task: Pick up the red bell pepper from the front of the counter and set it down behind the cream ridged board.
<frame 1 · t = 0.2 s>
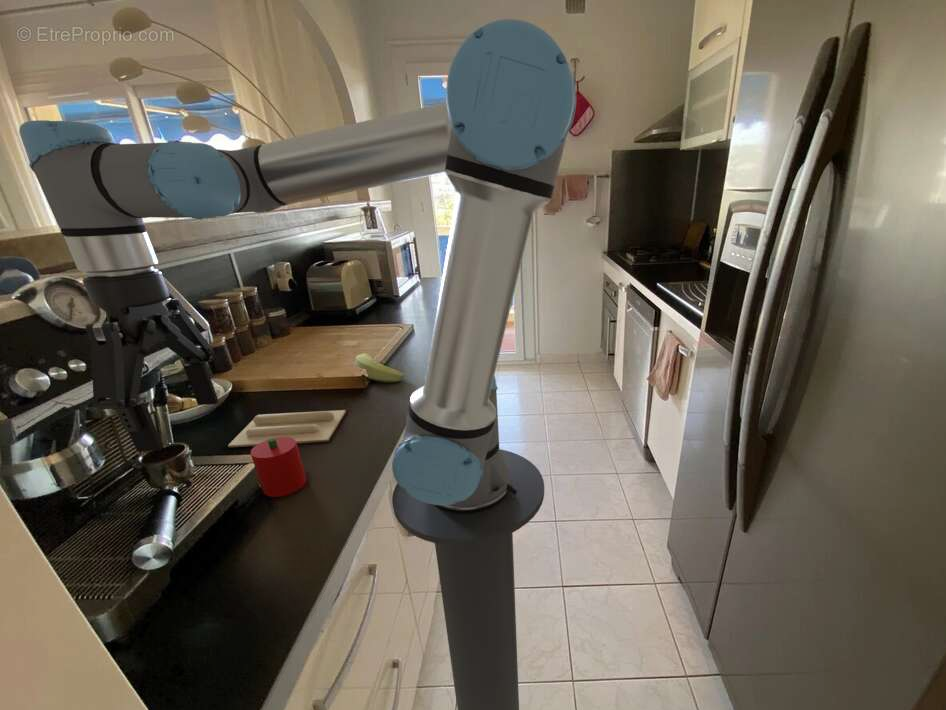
hand: (182, 424, 63), 18 cm above the counter, tool pointing down, fingers open, 13 cm apart
banana: (380, 373, 129), on the counter
cream ridged board: (291, 428, 99), on the counter
pepper: (285, 484, 80), on the counter
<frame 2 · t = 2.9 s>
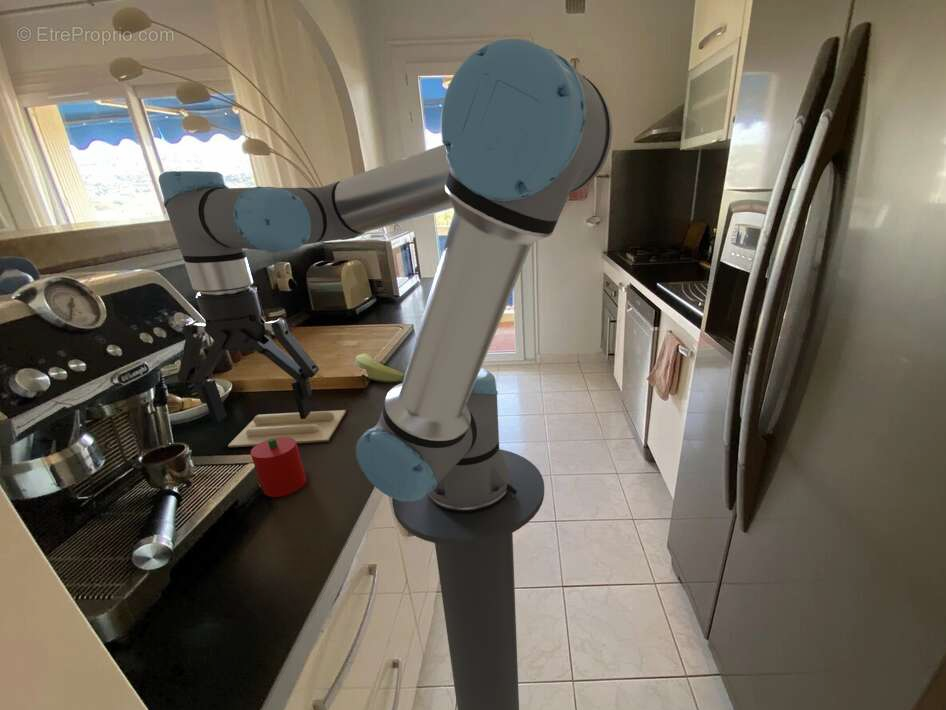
hand: (263, 417, 74), 14 cm above the counter, tool pointing down, fingers open, 13 cm apart
nothing on the counter moved.
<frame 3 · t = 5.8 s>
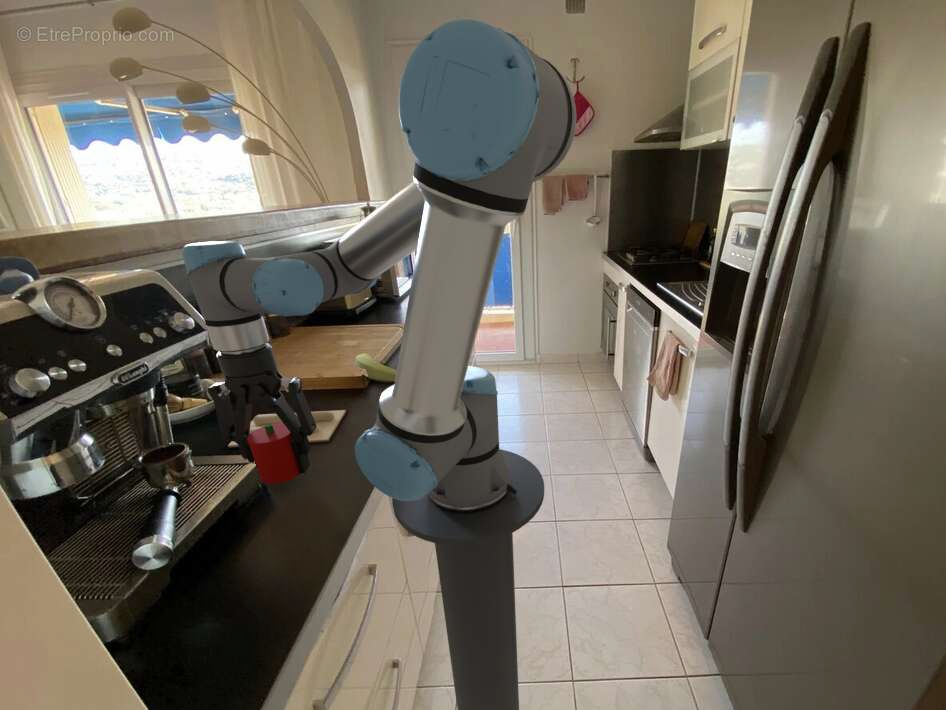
hand: (282, 470, 79), 3 cm above the counter, tool pointing down, fingers closed on pepper, 7 cm apart
pepper: (283, 472, 79), point 3 cm above the counter, touching gripper
everything else where it was.
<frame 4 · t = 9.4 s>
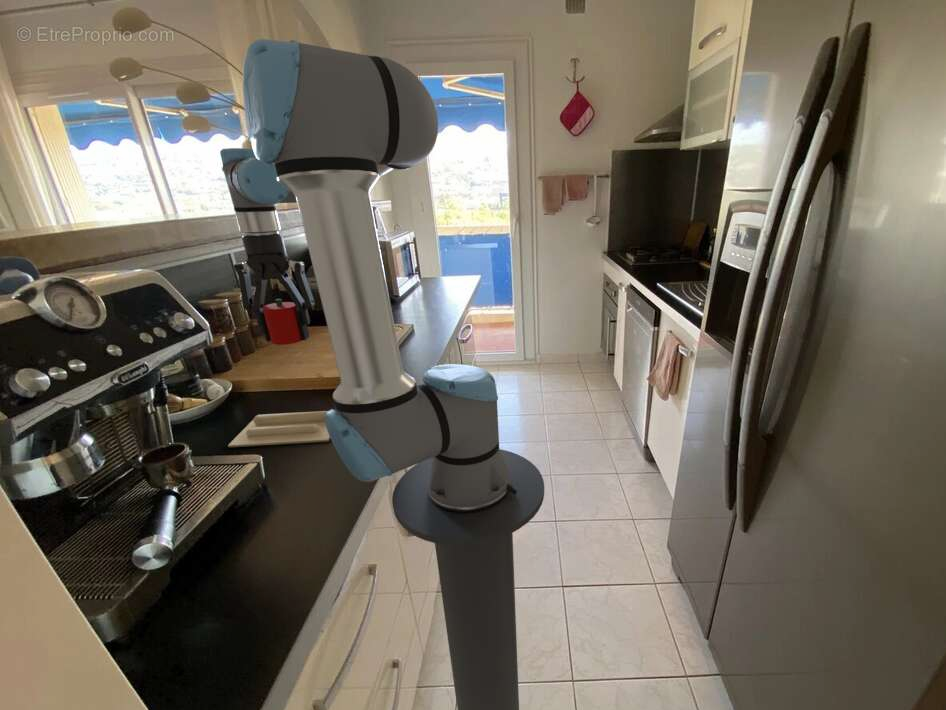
hand: (288, 338, 103), 17 cm above the counter, tool pointing down, fingers closed on pepper, 7 cm apart
pepper: (288, 340, 103), point 17 cm above the counter, touching gripper
everything else where it was.
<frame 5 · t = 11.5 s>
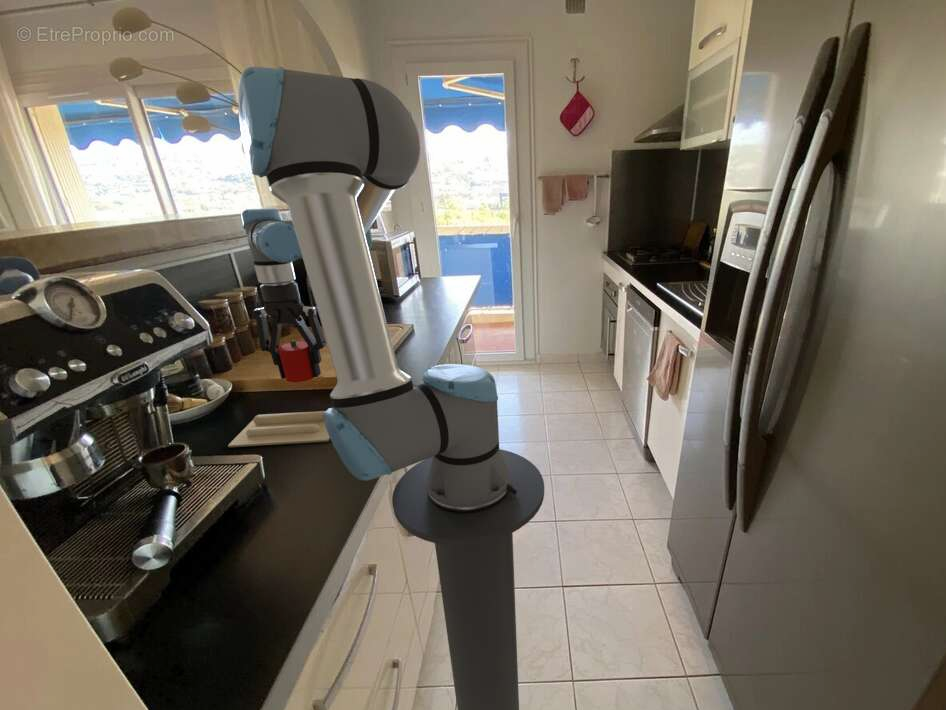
hand: (301, 375, 111), 6 cm above the counter, tool pointing down, fingers closed on pepper, 7 cm apart
pepper: (301, 376, 111), point 6 cm above the counter, touching gripper
everything else where it was.
when the fingers open (0 cm above the counter, at t = 13.0 s): pepper stays where it is, on the counter.
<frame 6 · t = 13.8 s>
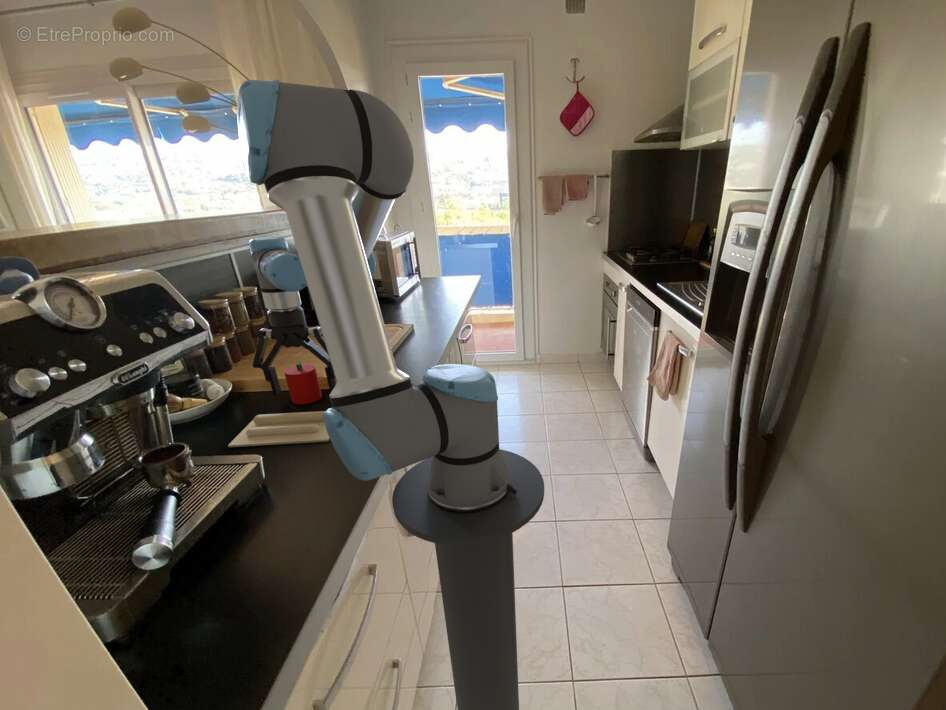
hand: (305, 391, 113), 2 cm above the counter, tool pointing down, fingers open, 13 cm apart
pepper: (307, 398, 114), on the counter
everything else where it was.
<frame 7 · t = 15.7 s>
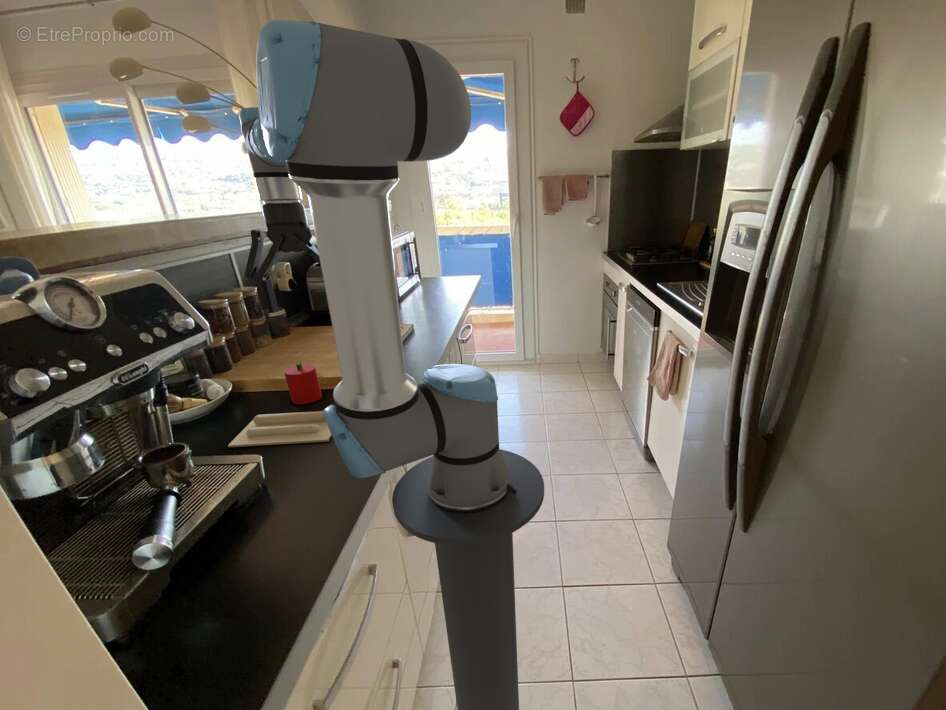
hand: (307, 310, 96), 25 cm above the counter, tool pointing down, fingers open, 13 cm apart
nothing on the counter moved.
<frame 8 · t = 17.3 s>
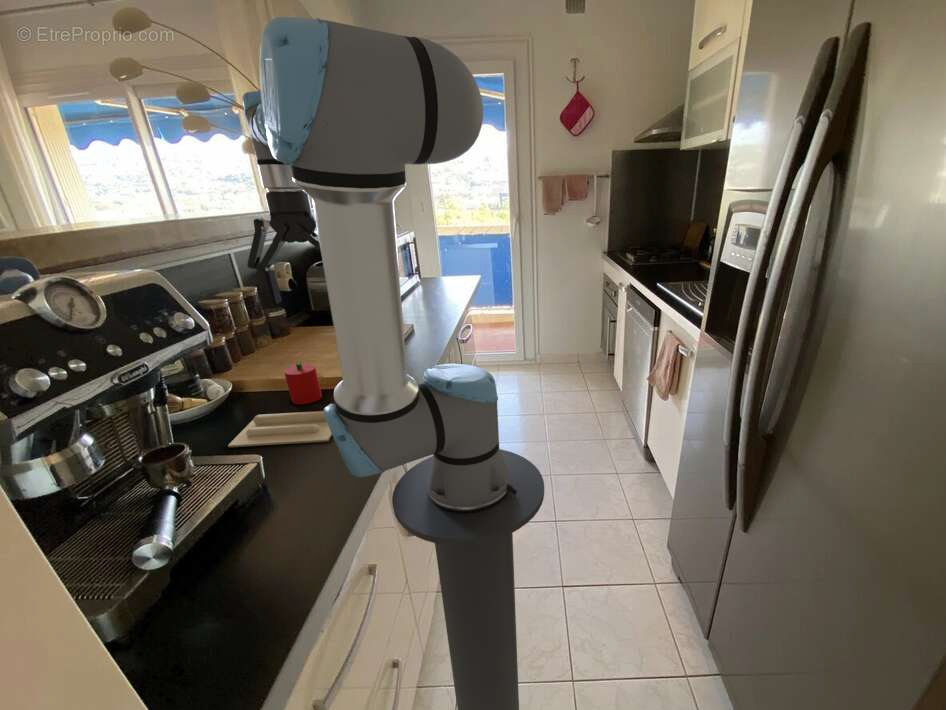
hand: (311, 301, 94), 27 cm above the counter, tool pointing down, fingers open, 13 cm apart
nothing on the counter moved.
at the end: pepper inside the target area on the counter beside the cream ridged board (2.0 cm from its centre), on the counter; pepper tilted 0°; the gripper is holding nothing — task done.
